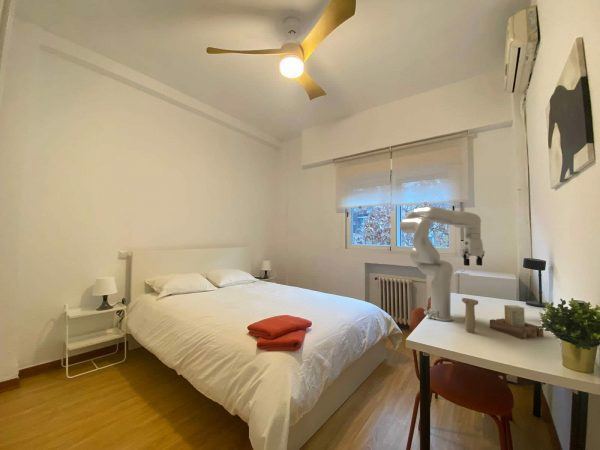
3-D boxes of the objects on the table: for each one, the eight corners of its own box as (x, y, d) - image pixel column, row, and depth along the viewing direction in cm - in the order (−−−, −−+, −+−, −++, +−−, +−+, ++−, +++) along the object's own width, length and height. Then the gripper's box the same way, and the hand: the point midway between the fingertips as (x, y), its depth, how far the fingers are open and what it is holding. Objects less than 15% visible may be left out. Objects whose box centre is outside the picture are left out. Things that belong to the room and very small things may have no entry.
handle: (475, 335, 113) (475, 302, 114) (460, 330, 118) (460, 298, 119) (480, 333, 115) (480, 300, 116) (465, 328, 121) (465, 297, 122)
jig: (521, 339, 109) (521, 330, 110) (489, 327, 123) (489, 319, 123) (543, 336, 113) (543, 327, 113) (510, 325, 127) (510, 317, 127)
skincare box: (518, 330, 120) (517, 305, 120) (525, 334, 116) (525, 307, 116) (504, 330, 121) (503, 304, 121) (510, 333, 116) (510, 307, 117)
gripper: (467, 236, 142) (467, 266, 141) (490, 237, 147) (490, 266, 146) (455, 236, 149) (455, 264, 148) (477, 236, 154) (477, 264, 153)
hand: (472, 265), depth 147 cm, fingers open, 9 cm apart
